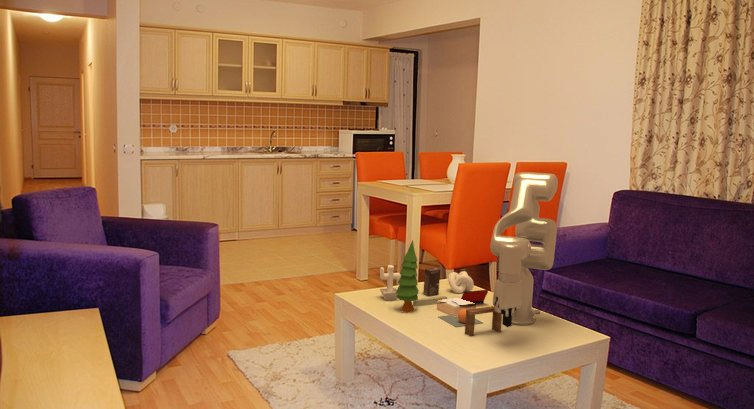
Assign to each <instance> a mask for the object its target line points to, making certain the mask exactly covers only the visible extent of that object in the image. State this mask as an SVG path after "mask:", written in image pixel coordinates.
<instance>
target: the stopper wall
mask: <svg viewBox="0 0 754 409" xmlns="http://www.w3.org/2000/svg"><path fill="white" fill-rule="evenodd" d="M442 299H447V300H448V297H447V296H446V295H441V296H439V295H438V296H434V297H432V296H430V297H425V298H424V297H423V298H418V300H415V301H412V304H413V307H414V308H415V307H423V306H424V307H425V306H430V305H437V304H436V303H437V301H438V300H442Z"/></svg>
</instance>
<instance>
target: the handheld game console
mask: <svg viewBox="0 0 754 409" xmlns="http://www.w3.org/2000/svg"><path fill="white" fill-rule="evenodd" d="M462 293H463V294H462V296H461V297H460V298H461V299H463V300H466V301H470V302H473V303H475V304H474V305H479V304H484V302H485V299H486V297H487V296H488V293H489V289H480V290H479V289H478V290H471V291H463V292H462Z"/></svg>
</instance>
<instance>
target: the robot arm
mask: <svg viewBox="0 0 754 409" xmlns="http://www.w3.org/2000/svg"><path fill="white" fill-rule="evenodd" d="M512 180H513V181H512V185H513V191H512V195H511V196H512V197H511V202H510V207H509V211H508V212H507V213H506V214H504V215H502V217H501V218H499V219H498V221H497V222H496V223H495V225H494V227H493V231H492V235H491V240H490V252H491V254H493V255H494V256H495V257H496V256H498V257H499V260H498V261H499V262H498V279H496V280H495V283H494V284H495V285H494V288H493V294H492V296H493V297H492V306H496V307H495V311H496V312H498V313H501V314H502V321H501V325H503V326H505V327H506V328H510V327H512V325H517V326H529V325H530V326H531V325H534V323H535V320H536V319H535V318H534V316H535V315H540V314H541V310H540V309H533V294H534V293H533V292H534V276H533V275H532V273H531V271H530V269H535V270H546V271H548V270H550V269H552V267H553V266H554V260H555V253H556V252H555V250H556V243H557V242H556V241H557V235H558V234H557V232H558V231H557V230H558V228H557V223H556V222H555V220H553V219H550V218H544V217H540V209H541V208H540V204H539V202H550V201H551V200H552V199H553V198H554V196H555V194H556V192H557V190H558V185H559V181H558V180H559V178H558V177H557V176H556V174H554V173H549V172H548V173H545V172H533V171H531V172H530V171H529V172H528V171H523V172H521V171H520V172H517V173H515V174H514V176H513V179H512ZM513 226H515V236H508V235H502V234H503V233H504V231H506V230H507V229H509V228H510V227H513ZM531 242H537V243H542V244H534V243H531Z"/></svg>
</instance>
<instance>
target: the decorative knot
mask: <svg viewBox="0 0 754 409" xmlns="http://www.w3.org/2000/svg"><path fill="white" fill-rule="evenodd" d="M447 282H448V285H449V288H450V289H451V291H453V293H455V294H462V293H464V292H469V291H473V288H474V287H475V286H474V280H473V279H472V277H471V276H470V275H468V272H467V271H465V270H464V271H460V272H459V273H458V272H455V271H453V272H450V273H449V274H448V281H447Z"/></svg>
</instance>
